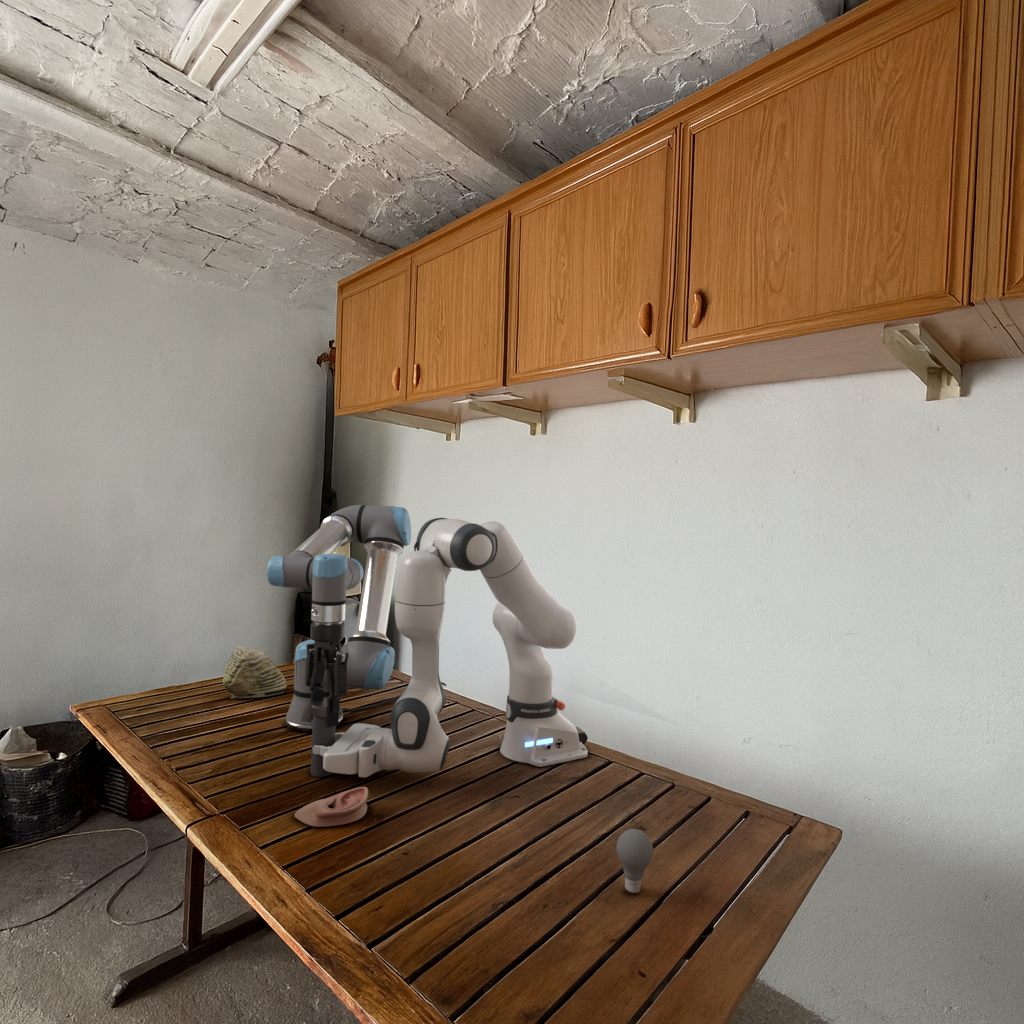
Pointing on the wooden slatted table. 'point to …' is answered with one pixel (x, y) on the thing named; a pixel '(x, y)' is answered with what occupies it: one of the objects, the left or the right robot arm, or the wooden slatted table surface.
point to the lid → (319, 708)
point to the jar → (320, 737)
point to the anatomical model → (335, 809)
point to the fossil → (252, 674)
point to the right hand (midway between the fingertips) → (319, 743)
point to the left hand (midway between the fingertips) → (324, 722)
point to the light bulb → (634, 857)
